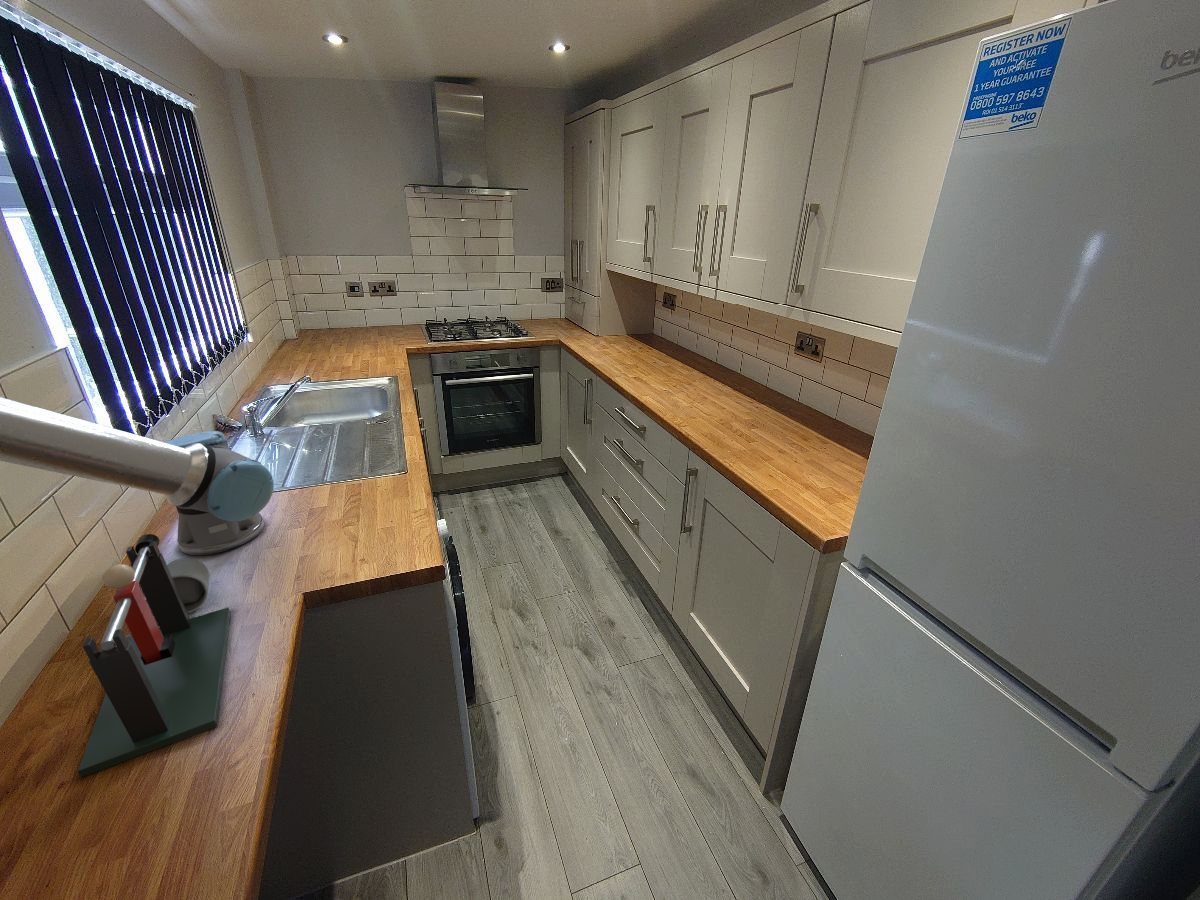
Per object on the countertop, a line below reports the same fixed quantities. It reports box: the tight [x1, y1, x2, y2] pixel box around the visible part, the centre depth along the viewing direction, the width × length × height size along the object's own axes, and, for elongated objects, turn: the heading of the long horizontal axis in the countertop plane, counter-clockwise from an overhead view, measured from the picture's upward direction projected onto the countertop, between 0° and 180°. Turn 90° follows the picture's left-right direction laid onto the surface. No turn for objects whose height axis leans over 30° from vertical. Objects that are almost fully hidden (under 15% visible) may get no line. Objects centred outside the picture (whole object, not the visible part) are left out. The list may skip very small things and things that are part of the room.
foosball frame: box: [77, 541, 231, 778], centre depth 74 cm, size 26×14×17 cm, turn 30°
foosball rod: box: [98, 533, 175, 665], centre depth 74 cm, size 26×4×16 cm, turn 30°
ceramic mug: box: [145, 557, 210, 617], centre depth 92 cm, size 11×8×8 cm
